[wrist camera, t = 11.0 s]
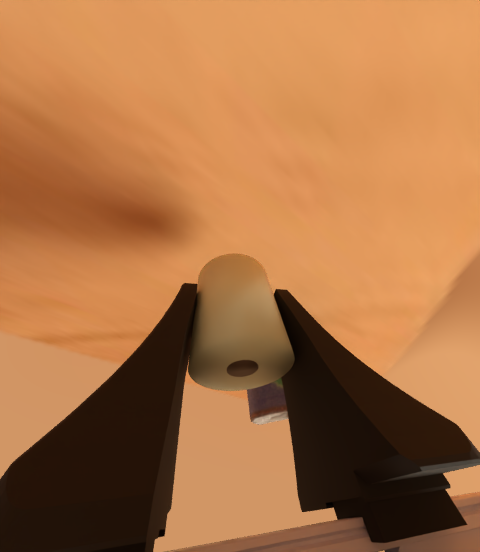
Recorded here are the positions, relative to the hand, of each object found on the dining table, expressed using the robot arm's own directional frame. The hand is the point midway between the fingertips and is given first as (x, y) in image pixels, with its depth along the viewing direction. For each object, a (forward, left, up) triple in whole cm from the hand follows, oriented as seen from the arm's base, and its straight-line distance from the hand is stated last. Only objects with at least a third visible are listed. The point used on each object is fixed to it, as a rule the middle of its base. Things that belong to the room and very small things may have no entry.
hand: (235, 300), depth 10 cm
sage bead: (0, 0, -1) cm, 1 cm away
